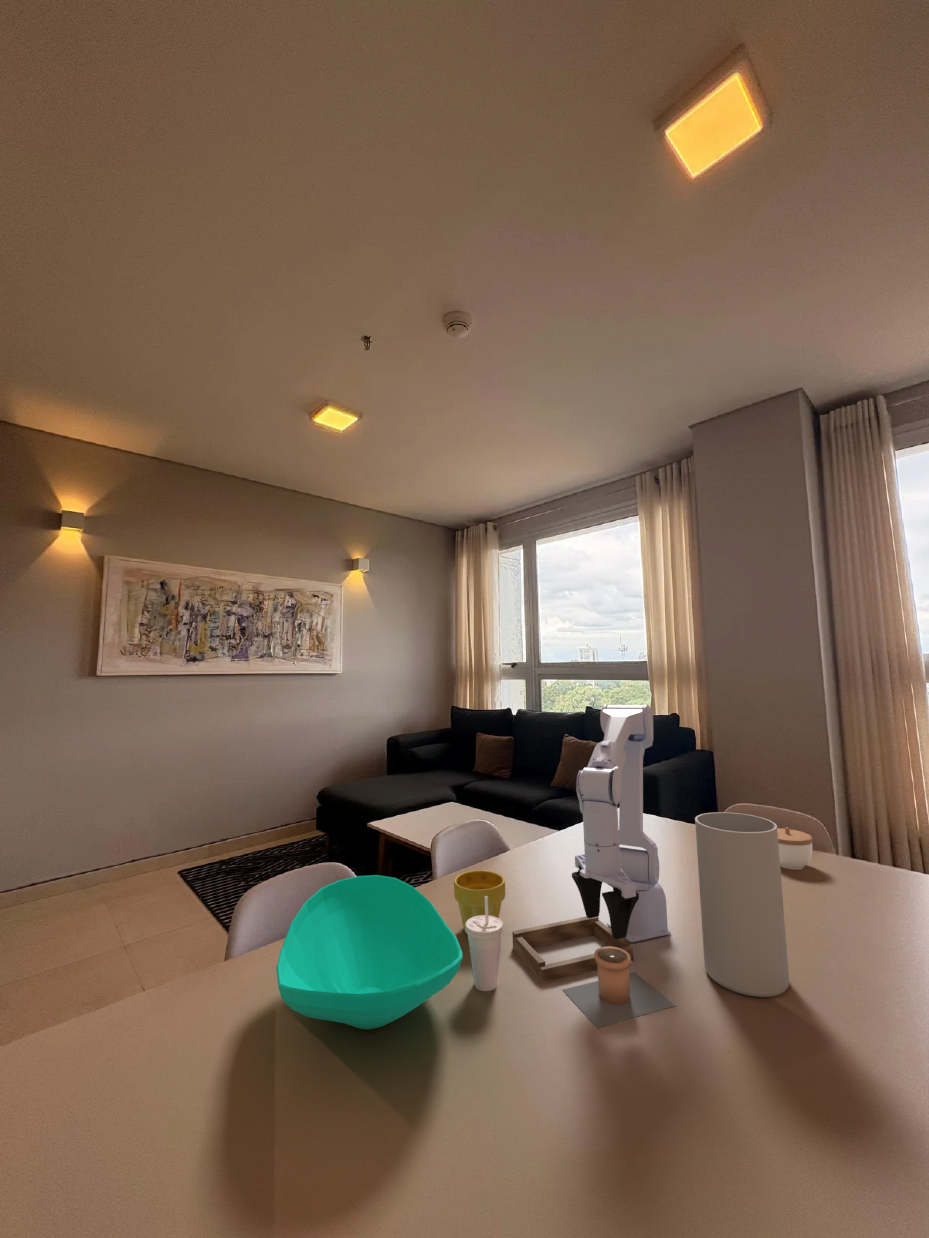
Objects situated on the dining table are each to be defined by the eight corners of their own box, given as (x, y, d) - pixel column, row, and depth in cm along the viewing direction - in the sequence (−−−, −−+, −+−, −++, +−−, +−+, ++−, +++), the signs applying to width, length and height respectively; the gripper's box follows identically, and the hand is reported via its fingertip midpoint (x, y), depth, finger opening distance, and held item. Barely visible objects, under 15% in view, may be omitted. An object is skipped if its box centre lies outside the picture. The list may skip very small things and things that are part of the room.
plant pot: (502, 944, 102) (501, 890, 103) (449, 940, 104) (448, 887, 105) (509, 919, 112) (507, 870, 113) (460, 916, 114) (459, 868, 115)
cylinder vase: (721, 949, 98) (711, 808, 100) (799, 975, 89) (786, 820, 92) (692, 978, 89) (682, 823, 92) (776, 1010, 80) (762, 837, 83)
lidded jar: (756, 862, 140) (754, 825, 141) (783, 855, 145) (781, 819, 146) (796, 876, 131) (793, 836, 132) (824, 868, 135) (821, 830, 136)
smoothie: (493, 1000, 84) (490, 907, 86) (459, 988, 88) (457, 899, 89) (511, 980, 90) (509, 893, 91) (478, 969, 93) (476, 885, 95)
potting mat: (635, 973, 91) (635, 971, 91) (676, 1007, 82) (676, 1005, 82) (562, 991, 87) (562, 989, 87) (597, 1029, 77) (597, 1027, 77)
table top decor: (500, 1082, 68) (497, 971, 69) (267, 1143, 60) (268, 1016, 61) (429, 936, 105) (428, 866, 107) (280, 961, 97) (281, 885, 99)
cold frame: (595, 930, 106) (595, 914, 106) (633, 960, 95) (632, 942, 95) (512, 948, 100) (512, 931, 100) (542, 982, 89) (542, 963, 89)
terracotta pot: (618, 982, 88) (616, 943, 89) (640, 1001, 83) (638, 960, 84) (589, 989, 87) (587, 950, 87) (609, 1009, 81) (607, 968, 82)
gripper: (558, 832, 95) (562, 912, 94) (606, 858, 81) (611, 952, 80) (592, 827, 97) (596, 905, 96) (644, 852, 84) (650, 943, 83)
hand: (605, 926), depth 88 cm, fingers open, 7 cm apart
